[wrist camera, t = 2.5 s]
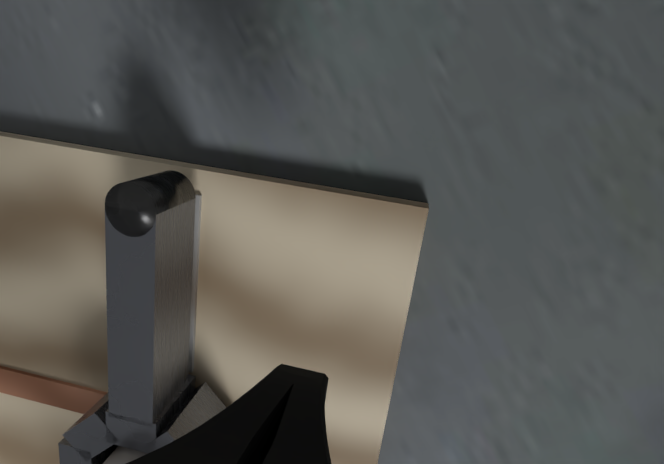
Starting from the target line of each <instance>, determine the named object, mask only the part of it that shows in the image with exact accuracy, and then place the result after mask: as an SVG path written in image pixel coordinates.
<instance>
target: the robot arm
mask: <svg viewBox="0 0 664 464" xmlns="http://www.w3.org/2000/svg"><path fill="white" fill-rule="evenodd" d="M328 380H329V378H328V377H327V375H326V374H324V373H320V372H315V371H311V370H307V369H302V368H298V367H294V366H289V365H285V364H280V365H278V366H277V367H276V368H275V369H273V370H272V371H271V372H270V373H269V374H268V375H267V376H265V377H264V378H263V379H262V380H261V381H260V382H258V383H257V384H256V385H255V386H254V387H252V388H251V389H250V390H249V391H247V392H246V393H245V394H243V395H242V396H241V397H240V398H238V399H237V400H236V401H234V402H233V403H232V404H231V405H229V406H228V407H226V408H225V409H224V410H222V411H221V412H219V413H218V414H216V415H215V416H213V417H212V418H210V419H209V420H208V421H206V422H205V423H203V424H201V425H200V426H198V427H197V428H195V429H193V430H192V431H190V432H188V433H187V434H185V435H183V436H182V437H180V438H178V439H176V440H174V441H173V442H171V443H169V444H167V445H165V446H163V447H161V448H159V449H157V450H154V451H152V452H150V453H148V454H146V455H144V456H142V457H139V458H137V459H135V460H133V461H131V462H128V463H126V464H332V463H331V458H330V453H329V447H328V440H327V433H326V421H325V400H326V393H327V386H328Z"/></svg>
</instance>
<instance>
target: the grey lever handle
mask: <svg viewBox="0 0 664 464" xmlns="http://www.w3.org/2000/svg"><path fill="white" fill-rule="evenodd" d="M195 199H196V196H195V190H194V187H193V185H192V183H191V182H190V180H189V179H188V178H187V177H186V176H185V175H183V174H182V173H180V172H177V171H173V170H168V171H163V172H160V173H156V174H152V175H148V176H145V177H141V178H137V179H134V180H130V181H126V182H122V183H119V184H117V185H115V186H113V187H112V188H111V189H110V190H109V192H108V193H107V195H106V198H105V248H106V299H107V351H108V393H107V394H106V395H104V396H103V397H102V398H101V399H100V400H99V401H98V402H97V403H96V404H95V405H94V406H93V407H92V408H90V409H89V410H88V411H87V412H86V413H85V414H84V415H83V416H82V417H81V418H80V419H79V420H78V421H76V422H75V423H74V424H73V425H72V426H71V427H70V428H69V429H68V430H67V431H66V432H65V433H64V434H63V437H64V438H63V439H62V440H61V441H60V442H59V443H58V446H59V462H60V464H103V463H104V462H105V460H106V459H107V458H108V457H109V456H110V455H111V454H112V452H113V451H114V450H115V449H116V448H117V447H118V446H122V447H125V448H129V449H133V450H137V451H140V452H144V453H150V452H152V451H154V450H157V449H159V448H161V447H163V446H165V445H167V444H169V443H171V442H173V441H174V440H176V439H178V438H180V437H182V436H183V435H185V434H187V433H188V432H190V431H192V430H193V429H195V428H197V427H198V426H200V425H201V424H203V423H205V422H206V421H208V420H209V419H210V418H212V417H213V416H215V415H216V414H218V413H219V412H221V411H222V410H224V409H225V408H226V406H225V405H224V404H223V403H222V402H221V400H220V399H219V398H218V397H217V396H216V394H215V393H214V392H213V391H212V389H211V388H210V387H209V386H208V385H207V383H206V382H205V383H203V384H201V385H200V386H198V387H197V388H195V380H196V376H194V375H189V374H188V365H189V341H190V318H191V294H192V270H193V247H194V223H195Z"/></svg>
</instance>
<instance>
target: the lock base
mask: <svg viewBox="0 0 664 464" xmlns="http://www.w3.org/2000/svg"><path fill="white" fill-rule="evenodd" d="M168 170H173V171H177V172H180V173H182V174H183V175H185V176H186V177H187V178H188V179H189V180H190V182H191V183H192V185H193V187H194V190H195V196H196V199H195V223H194V247H193V270H192V294H191V318H190V341H189V365H188V374H189V375H194V376H196V380H195V388H197V387H198V386H200V385H201V384H203V383H205V382H206V383H207V385H208V386H209V387H210V388H211V389H212V391H213V392H214V393H215V394H216V396H217V397H218V398H219V399H220V400H221V402H222V403H223V404H224V405H225V406H226V407H228V406H229V405H231V404H232V403H233V402H234V401H236V400H237V399H238V398H240V397H241V396H242V395H243V394H245V393H246V392H247V391H249V390H250V389H251V388H252V387H254V386H255V385H256V384H257V383H258V382H260V381H261V380H262V379H263V378H264V377H265V376H267V375H268V374H269V373H270V372H271V371H272V370H273V369H275V368H276V367H277V366H278V365H280V364H285V365H289V366H294V367H298V368H302V369H307V370H311V371H315V372H320V373H324V374H326V375H327V377H328V378H329V380H328V386H327V393H326V400H325V421H326V433H327V440H328V447H329V453H330V458H331V463H332V464H377V462H378V457H379V452H380V447H381V442H382V438H383V433H384V428H385V423H386V418H387V413H388V408H389V403H390V398H391V393H392V388H393V383H394V378H395V373H396V368H397V363H398V358H399V353H400V348H401V343H402V338H403V333H404V328H405V323H406V318H407V314H408V309H409V304H410V299H411V294H412V289H413V284H414V279H415V274H416V269H417V264H418V259H419V254H420V249H421V244H422V239H423V234H424V229H425V224H426V219H427V214H428V209H429V207H428V203H423V202H417V201H411V200H405V199H400V198H394V197H388V196H382V195H376V194H370V193H364V192H358V191H352V190H346V189H340V188H334V187H328V186H322V185H316V184H310V183H304V182H299V181H293V180H287V179H281V178H275V177H269V176H263V175H257V174H251V173H245V172H239V171H233V170H227V169H221V168H215V167H209V166H204V165H198V164H192V163H186V162H180V161H174V160H168V159H162V158H156V157H150V156H144V155H138V154H132V153H126V152H120V151H114V150H108V149H103V148H97V147H91V146H85V145H79V144H73V143H67V142H61V141H55V140H49V139H43V138H37V137H31V136H25V135H19V134H13V133H8V132H2V131H0V464H60V462H59V446H58V443H59V442H60V441H61V440H62V439H63V438H64V437H63V434H64V433H65V432H66V431H67V430H68V429H69V428H70V427H71V426H72V425H73V424H74V423H75V422H76V421H78V420H79V419H80V418H81V417H82V416H83V415H84V414H85V413H86V412H87V411H88V410H89V409H90V408H92V407H93V406H94V405H95V404H96V403H97V402H98V401H99V400H100V399H101V398H102V397H103V396H104V395H106V394H107V393H108V351H107V299H106V248H105V198H106V195H107V193H108V192H109V190H110V189H111V188H112V187H113V186H115V185H117V184H119V183H122V182H126V181H130V180H134V179H137V178H141V177H145V176H148V175H152V174H156V173H160V172H163V171H168ZM146 454H148V453H144V452H140V451H137V450H133V449H129V448H125V447H122V446H118V447H117V448H116V449H115V450H114V451H113V452H112V454H111V455H110V456H109V457H108V458H107V459H106V460H105V462H104V463H103V464H126V463H128V462H131V461H133V460H135V459H137V458H139V457H142V456H144V455H146Z"/></svg>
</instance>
